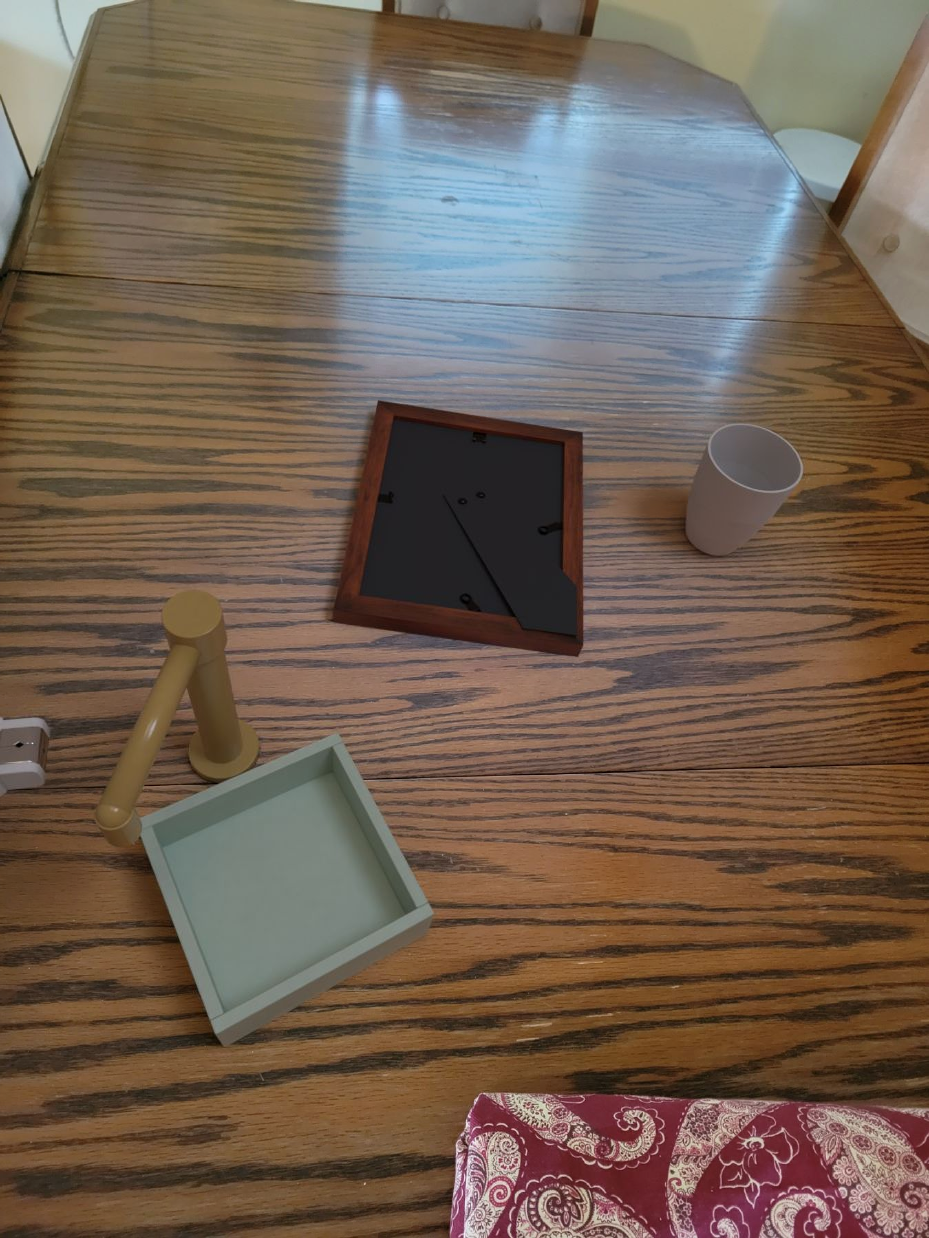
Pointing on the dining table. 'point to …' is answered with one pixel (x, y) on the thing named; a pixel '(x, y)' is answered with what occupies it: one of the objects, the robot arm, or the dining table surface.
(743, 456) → the cup
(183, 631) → the spout
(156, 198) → the dining table surface
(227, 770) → the faucet base
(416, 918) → the sink
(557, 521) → the picture frame
